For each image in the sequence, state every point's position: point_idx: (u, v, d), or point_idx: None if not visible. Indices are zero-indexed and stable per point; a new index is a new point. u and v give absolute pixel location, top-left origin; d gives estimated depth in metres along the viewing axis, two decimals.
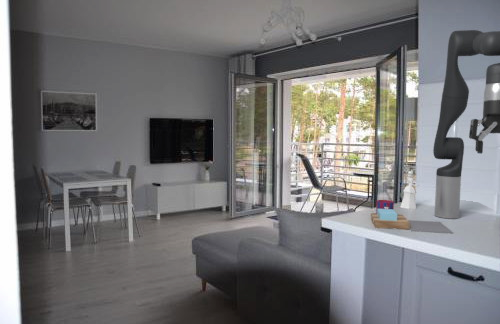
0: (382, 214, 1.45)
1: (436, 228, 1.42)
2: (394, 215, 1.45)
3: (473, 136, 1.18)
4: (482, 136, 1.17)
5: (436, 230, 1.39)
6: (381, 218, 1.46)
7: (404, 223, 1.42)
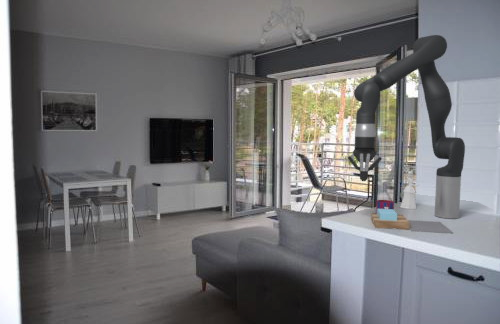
0: (382, 214, 1.45)
1: (436, 228, 1.42)
2: (394, 215, 1.45)
3: (356, 167, 1.49)
4: (361, 167, 1.49)
5: (436, 230, 1.39)
6: (381, 218, 1.46)
7: (404, 223, 1.42)
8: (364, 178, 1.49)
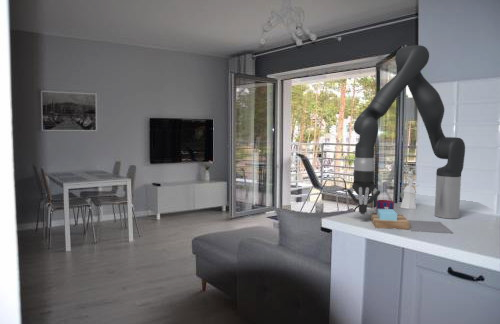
0: (382, 214, 1.45)
1: (436, 228, 1.42)
2: (394, 215, 1.45)
3: (355, 201, 1.50)
4: (360, 200, 1.50)
5: (436, 230, 1.39)
6: (381, 218, 1.46)
7: (404, 223, 1.42)
8: (363, 211, 1.50)
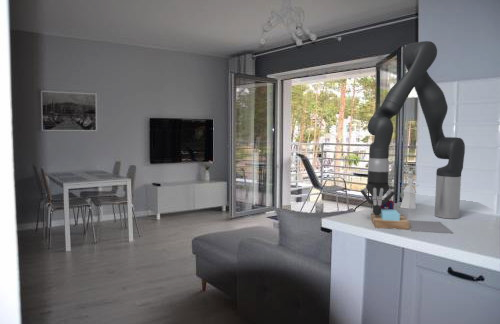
0: (385, 214, 1.45)
1: (436, 228, 1.42)
2: (397, 215, 1.44)
3: (369, 201, 1.49)
4: (374, 201, 1.49)
5: (436, 230, 1.39)
6: (384, 218, 1.45)
7: (404, 223, 1.42)
8: (377, 212, 1.49)
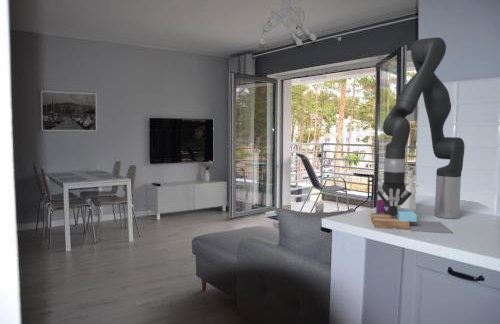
0: (401, 215, 1.44)
1: (436, 228, 1.42)
2: (414, 216, 1.43)
3: (385, 202, 1.48)
4: (391, 202, 1.48)
5: (436, 230, 1.39)
6: (400, 219, 1.44)
7: (404, 223, 1.42)
8: (393, 213, 1.48)
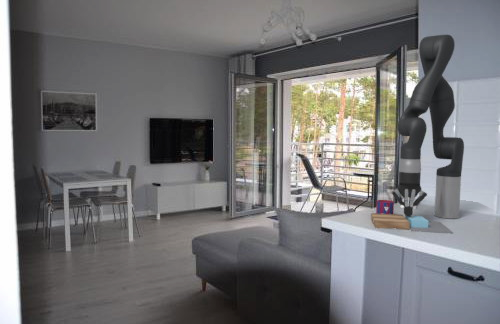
0: (413, 221, 1.43)
1: (436, 228, 1.42)
2: (425, 222, 1.43)
3: (401, 203, 1.47)
4: (406, 203, 1.47)
5: (436, 230, 1.39)
6: (412, 225, 1.44)
7: (404, 223, 1.42)
8: (409, 214, 1.47)
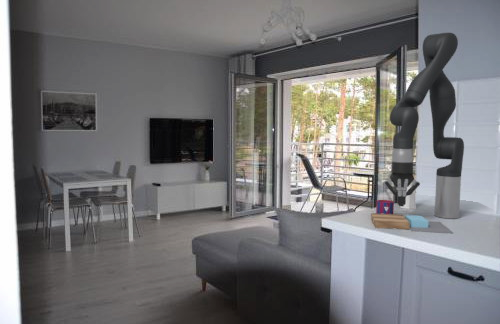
0: (413, 221, 1.43)
1: (436, 228, 1.42)
2: (425, 222, 1.43)
3: (394, 192, 1.47)
4: (399, 192, 1.47)
5: (436, 230, 1.39)
6: (412, 225, 1.44)
7: (404, 223, 1.42)
8: (402, 203, 1.47)
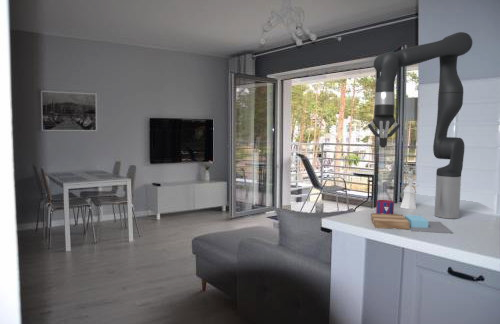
0: (413, 221, 1.43)
1: (436, 228, 1.42)
2: (425, 222, 1.43)
3: (376, 134, 1.56)
4: (381, 134, 1.56)
5: (436, 230, 1.39)
6: (412, 225, 1.44)
7: (404, 223, 1.42)
8: (383, 144, 1.56)
